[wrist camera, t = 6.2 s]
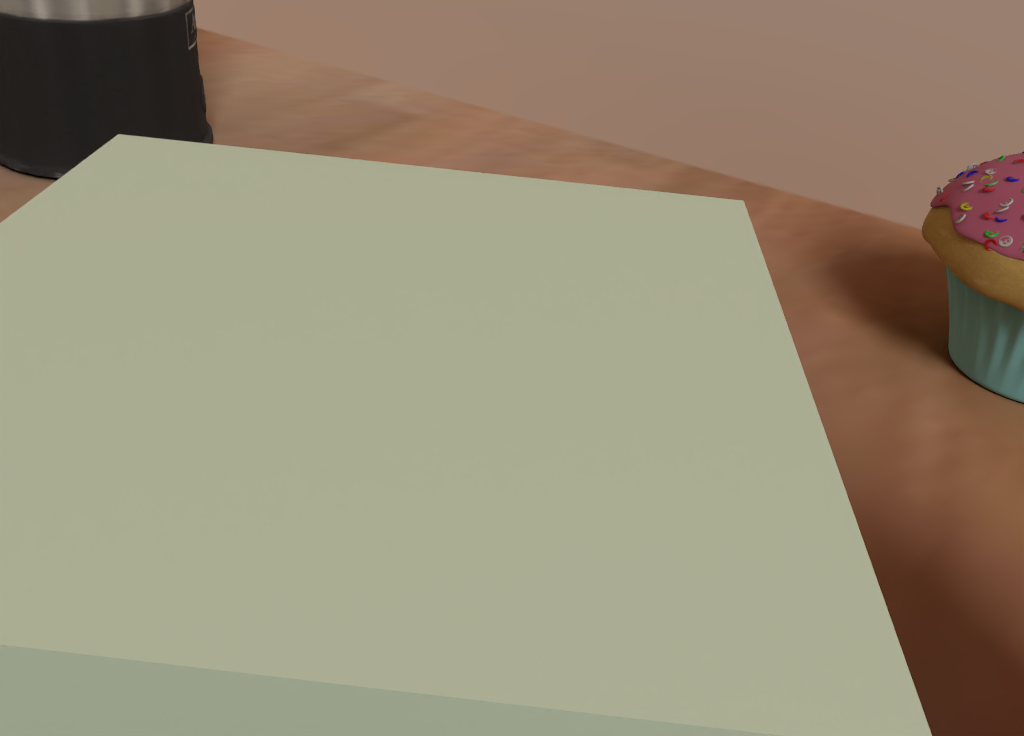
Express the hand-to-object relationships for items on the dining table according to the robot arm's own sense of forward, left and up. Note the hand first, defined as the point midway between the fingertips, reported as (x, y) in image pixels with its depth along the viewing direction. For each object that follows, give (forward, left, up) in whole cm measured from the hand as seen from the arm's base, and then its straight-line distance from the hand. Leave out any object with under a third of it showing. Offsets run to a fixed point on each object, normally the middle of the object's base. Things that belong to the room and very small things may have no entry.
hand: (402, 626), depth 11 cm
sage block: (+1, -2, -7) cm, 7 cm away
